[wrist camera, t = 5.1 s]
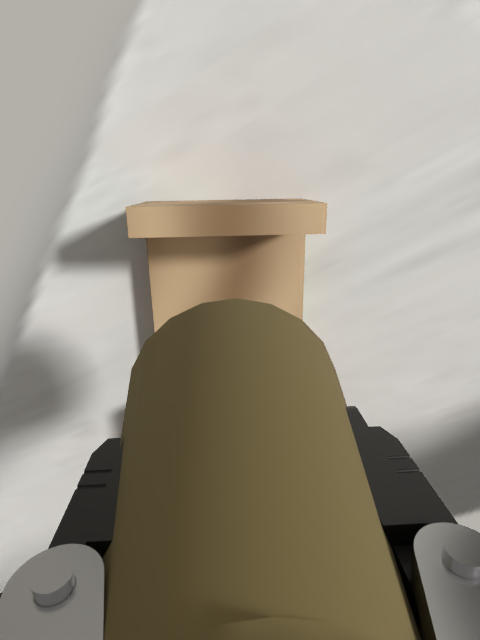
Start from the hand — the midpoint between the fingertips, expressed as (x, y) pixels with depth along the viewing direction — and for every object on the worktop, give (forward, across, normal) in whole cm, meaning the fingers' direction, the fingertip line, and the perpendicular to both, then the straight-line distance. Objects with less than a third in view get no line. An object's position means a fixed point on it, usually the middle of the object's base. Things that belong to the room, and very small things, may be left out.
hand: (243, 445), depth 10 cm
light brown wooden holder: (+14, 0, +3) cm, 14 cm away
